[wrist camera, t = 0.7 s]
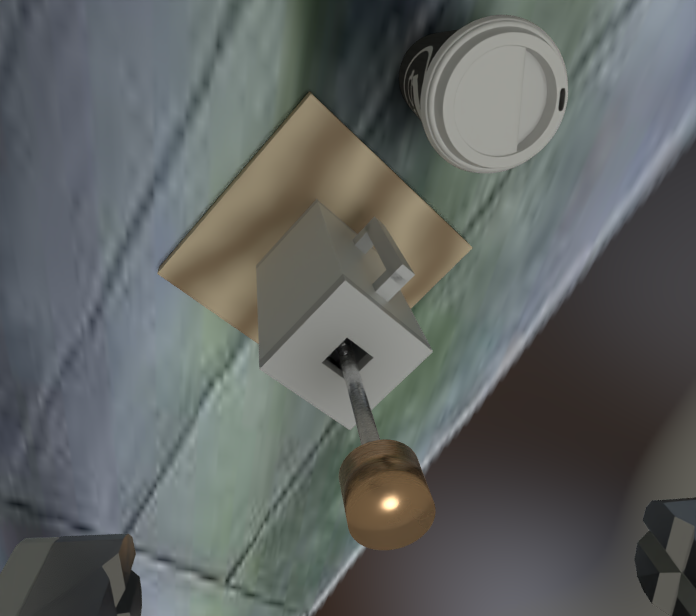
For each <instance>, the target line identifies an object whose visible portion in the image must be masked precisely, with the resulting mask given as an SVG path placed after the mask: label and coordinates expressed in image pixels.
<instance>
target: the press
mask: <svg viewBox="0 0 696 616" xmlns="http://www.w3.org/2000/svg"><path fill="white" fill-rule="evenodd" d="M373 245H374V247H375V249H376V250H375V249H374V248H373ZM414 275H415V274H414V272H413V271H412V269H411V267H410V266H409V264H408V263H407V261H406V259H405V258H404V256H403V254H402V253H401V251H400V250H399V248H398V246H397V245H396V243H395V241H394V240H393V238H392V236H391V235H390V233H389V232H388V230H387V228H386V227H385V225H384V224H383V223H381V222H380V221H379V220H378V219H377V218H376V217H375V216H374V217H373V218H372V220H371V221H370V222H369V223H368V224H367V225H366V226H365V227H364V228H363V229H362V230H361V231H360V232H359V233H358V234H357V233H356V232H355V231H353V230H352V229H351V228H350V227H349V226H348V225H346V224H345V223H344V222H343V221H342V220H341V219H339V218H338V217H337V216H336V215H335V214H334V213H333V212H331V211H330V210H329V209H328V208H327V207H326V206H324V205H323V204H322V203H321V202H320V201H319V200H317V199H316V200H315V201H314V202H313V203H312V204H311V206H310V207H309V208H308V209H307V210H306V211H305V212H304V213H303V214H302V215H301V217H300V218H299V219H298V220H297V221H296V222H295V223H294V224H293V225H292V226H291V228H290V229H289V230H288V231H287V232H286V233H285V234H284V235H283V236H282V238H281V239H280V240H279V241H278V242H277V243H276V244H275V245H274V246H273V247H272V249H271V250H270V251H269V252H268V253H267V254H266V255H265V256H264V257H263V258H262V260H261V261H260V262H259V263H258V264H257V265H256V279H257V308H258V338H259V367H260V370H262V371H263V372H265V373H266V374H267V375H269V376H270V377H272V378H273V379H275V380H276V381H278V382H279V383H281V384H282V385H284V386H285V387H287V388H288V389H290V390H291V391H293V392H294V393H296V394H297V395H299V396H300V397H302V398H303V399H305V400H306V401H308V402H309V403H311V404H312V405H314V406H315V407H316V408H318V409H319V410H321V411H322V412H324V413H325V414H327V415H328V416H330V417H331V418H333V419H334V420H336V421H337V422H339V423H340V424H342V425H343V426H345V427H346V428H348V429H349V430H351V429H352V428H353V427H354V426H355V425H356V421H355V417H354V413H353V409H352V406H351V402H350V398H349V394H348V390H347V386H346V382H345V378H344V374H343V371H342V367H341V363H340V359H339V360H338V361H335V360H334V359H332V358H331V357H330V356H329V355H330V354H331V353H332V352H333V351H334V350H335V349H336V348H337V347H338V346H339V345H340V344H341V343H342V342H343V341H344V340H345V339H346V338H349V339H350V340H351V341H353V342H354V343H355V344H354V345H353V346H352V349H353V352H354V356H355V359H356V362H357V365H358V369H359V372H360V375H361V379H362V382H363V385H364V389H365V392H366V395H367V398H368V402H369V405H370V408H371V410H372V409H373V408H374V407H375V406H376V405H377V404H378V403H379V402H380V401H381V400H382V399H383V398H384V397H385V396H387V395H388V394H389V393H390V392H391V391H392V390H393V389H394V388H395V387H396V386H397V385H398V384H399V383H400V382H401V381H402V380H403V379H404V378H406V377H407V376H408V375H409V374H410V373H411V372H412V371H413V370H414V369H415V368H416V367H417V366H418V365H419V364H420V363H421V362H422V361H423V360H425V359H426V358H427V357H428V356H429V355H430V354H431V353H432V352H433V350H432V349H431V347H430V345H429V343H428V341H427V339H426V337H425V335H424V333H423V332H422V330H421V328H420V326H419V324H418V322H417V320H416V318H415V317H414V315H413V313H412V311H411V309H410V307H409V305H408V303H407V301H406V300H405V298H404V296H403V294H402V292H401V290H400V289H401V288H402V287H403V286H404V285H405V284H406V283H407V282H408V281H409V280H410V279H411V278H412V277H413V276H414Z"/></svg>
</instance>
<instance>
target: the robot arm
mask: <svg viewBox="0 0 696 616" xmlns="http://www.w3.org/2000/svg"><path fill="white" fill-rule="evenodd" d="M643 521H644V523H645V524H646V526H647V528H648V529H649V531H648V532H647V533H646V534H645V535H644V536H643V537H642V538H641V539H640V540H639V542H638V543H637V548H636V554H635V565H636V571H637V577H638V579H639V582H640V584H641V587H642V589H643V591H644V593H645V594H646V596H647V597H648V599H649V600H650V602H651V603H652V604H653V605H654V606H656V607H657V608H659V609H660V610H662V611H663V612H665V613H667V614H668V615H670V616H696V497H694V498H680V499H666V500H652V501H651V502H650V504H649V505H648V506H647V507H646V510H645V514H644V518H643ZM135 555H136V553H135V548H134V543H133V538H132V536H130V535H129V534H107V535H82V536H61V537H49V538H25V539H24V540H23V541H21V542H20V543H19V544H18V545H17V546H16V547H15V549H14V551H13V552H12V554H11V556H10V558H9V560H8V561H7V563H6V565H5V567H4V568H3V570H2V572H1V574H0V616H141V609H142V590H141V583H140V577H139V576H138V575H137V574H136V573H135V572H133V571H132V570H131V568H132V565H133V561H134V558H135Z"/></svg>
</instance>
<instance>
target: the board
mask: <svg viewBox="0 0 696 616" xmlns="http://www.w3.org/2000/svg"><path fill="white" fill-rule="evenodd" d="M316 199H317V200H319V201H320V202H321V203H322V204H323V205H324V206H326V207H327V208H328V209H329V210H330V211H331V212H333V213H334V214H335V215H336V216H337V217H338V218H339V219H341V220H342V221H343V222H344V223H345V224H346V225H348V226H349V227H350V228H351V229H352V230H353V231H355V232H356V233H357V234H358V233H359V232H360V231H361V230H362V229H363V228H364V227H365V226H366V225H367V224H368V223H369V222H370V221H371V220H372V218H373V217H374V216H375V217H376V218H377V219H378V220H379V221H380V222H381V223H383V224H384V225H385V227H386V228H387V230H388V232H389V233H390V235H391V236H392V238H393V240H394V241H395V243H396V245H397V246H398V248H399V250H400V251H401V253H402V254H403V256H404V258H405V259H406V261H407V263H408V264H409V266H410V267H411V269H412V271H413V272H414V274H415V275H414V276H413V277H412V278H411V279H410V280H409V281H408V282H407V283H406V284H405V285H404V286H403V287H402V288H401V289H400V290H401V292H402V294H403V296H404V298H405V300H406V301H407V303H408V305H409V307H410V309H411V308H412V307H413V306H414V305H415V304H416V303H417V302H418V301H419V300H420V299H421V298H422V297H423V296H424V295H425V294H426V293H427V292H428V291H429V290H430V289H431V288H432V287H433V286H434V285H435V284H436V283H437V282H438V281H439V280H440V279H441V278H442V277H443V276H444V275H445V274H446V273H447V272H448V271H450V270H451V269H452V268H453V267H454V266H455V265H456V264H457V263H458V262H459V261H460V260H461V259H462V258H463V257H464V256H465V255H466V254H467V253H468V252H469V251H470V250H471V249H472V247H471V246H470V245H469V243H468V242H467V241H466V240H465V239H463V238H462V237H461V236H460V235H459V234H458V233H457V232H456V231H455V230H454V229H453V228H452V227H451V226H450V225H449V224H448V223H447V222H446V221H445V220H444V219H443V218H442V217H440V216H439V215H438V214H437V213H436V212H435V211H434V210H433V209H432V208H431V207H430V206H429V205H428V204H427V203H426V202H425V201H424V200H423V199H422V198H421V197H420V196H418V195H417V194H416V193H415V192H414V191H413V190H412V189H411V188H410V187H409V186H408V185H407V184H406V183H405V182H404V181H403V180H402V179H401V178H400V177H399V176H398V175H396V174H395V173H394V172H393V171H392V170H391V169H390V168H389V167H388V166H387V165H386V164H385V163H384V162H383V161H382V160H381V159H380V158H379V157H378V156H377V155H376V154H375V153H373V152H372V151H371V150H370V149H369V148H368V147H367V146H366V145H365V144H364V143H363V142H362V141H361V140H360V139H359V138H358V137H357V136H356V135H355V134H354V133H353V132H351V131H350V130H349V129H348V128H347V127H346V126H345V125H344V124H343V123H342V122H341V121H340V120H339V119H338V118H337V117H336V116H335V115H334V114H333V113H332V112H331V111H329V110H328V109H327V108H326V107H325V106H324V105H323V104H322V103H321V102H320V101H319V100H318V99H317V98H316V97H315V96H314V95H313V94H312V93H311V92H310V91H309V93H308V94H307V95H306V96H305V97H304V98H303V100H302V101H301V102H300V103H299V104H298V105H297V107H296V108H295V109H294V110H293V111H292V112H291V114H290V115H289V116H288V117H287V118H286V119H285V121H284V122H283V123H282V124H281V125H280V126H279V128H278V129H277V130H276V131H275V132H274V133H273V135H272V136H271V137H270V138H269V139H268V141H267V142H266V143H265V144H264V145H263V146H262V148H261V149H260V150H259V151H258V152H257V153H256V155H255V156H254V157H253V158H252V159H251V160H250V162H249V163H248V164H247V165H246V166H245V167H244V169H243V170H242V171H241V172H240V173H239V174H238V176H237V177H236V178H235V179H234V180H233V181H232V183H231V184H230V185H229V186H228V187H227V188H226V190H225V191H224V192H223V193H222V194H221V196H220V197H219V198H218V199H217V200H216V201H215V203H214V204H213V205H212V206H211V207H210V208H209V210H208V211H207V212H206V213H205V214H204V215H203V217H202V218H201V219H200V220H199V221H198V222H197V224H196V225H195V226H194V227H193V228H192V229H191V231H190V232H189V233H188V234H187V235H186V236H185V238H184V239H183V240H182V241H181V242H180V243H179V245H178V246H177V247H176V248H175V249H174V251H173V252H172V253H171V254H170V255H169V256H168V258H167V259H166V260H165V261H164V262H163V263H162V265H161V266H160V267H159V270H158V273H157V274H159V275H160V276H161V277H163V278H164V279H166V280H167V281H169V282H170V283H171V284H173V285H174V286H176V287H177V288H179V289H180V290H182V291H183V292H184V293H186V294H187V295H189V296H190V297H192V298H193V299H195V300H196V301H197V302H199V303H200V304H202V305H203V306H205V307H206V308H207V309H209V310H210V311H212V312H213V313H215V314H216V315H218V316H219V317H220V318H222V319H223V320H225V321H226V322H228V323H229V324H231V325H232V326H233V327H235V328H236V329H238V330H239V331H241V332H242V333H243V334H245V335H246V336H248V337H249V338H251V339H252V340H254V341H255V342H256V343H258V344H259V338H258V308H257V279H256V265H257V264H258V263H259V262H260V261H261V260H262V258H263V257H264V256H265V255H266V254H267V253H268V252H269V251H270V250H271V249H272V247H273V246H274V245H275V244H276V243H277V242H278V241H279V240H280V239H281V238H282V236H283V235H284V234H285V233H286V232H287V231H288V230H289V229H290V228H291V226H292V225H293V224H294V223H295V222H296V221H297V220H298V219H299V218H300V217H301V215H302V214H303V213H304V212H305V211H306V210H307V209H308V208H309V207H310V206H311V204H312V203H313V202H314V201H315V200H316ZM373 248H374V249H375V247H374V245H373ZM375 250H376V249H375Z"/></svg>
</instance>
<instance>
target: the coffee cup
mask: <svg viewBox="0 0 696 616" xmlns="http://www.w3.org/2000/svg"><path fill="white" fill-rule="evenodd" d="M399 85H400V90H401V93H402V96H403V98H404V100H405V101H406V103H407V104H408V105H409V107H410V108H411V109H412V110H413V111H414V113H415V114H416V115H417V116H418V118H419V119H420V120H421V121H422V123H423V127H424V130H425V133H426V135H427V138H428V140H429V141H430V143H431V145H432V146H433V148H434V149H435V150H436V152H437V153H438V154H439V155H440V156H441V157H442V158H443V159H444V160H446V161H447V162H448V163H450V164H452V165H453V166H455V167H457V168H459V169H462V170H465V171H469V172H474V173H496V172H501V171H505V170H508V169H511V168H514V167H516V166H518V165H520V164H522V163H524V162H526V161H527V160H529V159H530V158H531V157H533V156H534V155H535V154H537V153H538V152H539V151H540V150H541V149H543V148H544V147H545V145H546V144H547V143H548V142H549V141H550V140H551V138H552V137H553V136H554V134H555V133H556V131H557V129H558V127H559V125H560V123H561V121H562V119H563V116H564V113H565V109H566V105H567V98H568V79H567V72H566V67H565V64H564V60H563V58H562V55H561V53H560V51H559V49H558V47H557V46H556V44H555V43H554V41H553V40H552V39H551V38H550V37H549V35H548V34H547V33H546V32H545V31H544V30H542V29H541V28H540V27H539V26H537V25H536V24H534V23H532V22H530V21H528V20H526V19H523V18H520V17H516V16H511V15H494V16H488V17H484V18H481V19H478V20H475V21H473V22H471V23H469V24H467V25H465V26H464V27H462V28H461V29H459V30H454V31H447V32H441V33H435V34H430V35H427V36H425V37H423V38H421V39H420V40H418V41H417V42H416V43H414V44H413V45H412V46H411V48H410V49H409V50H408V51H407V53H406V55H405V56H404V58H403V61H402V63H401V67H400V71H399Z"/></svg>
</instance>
